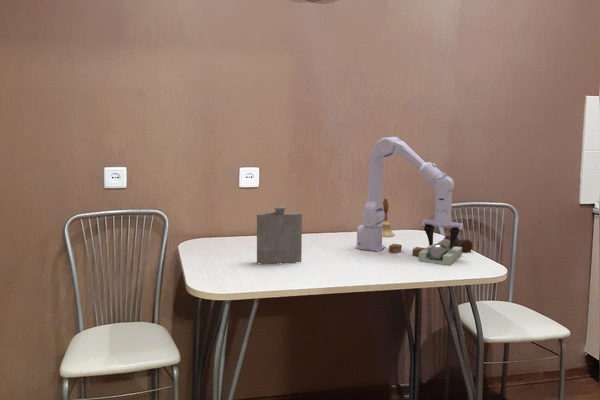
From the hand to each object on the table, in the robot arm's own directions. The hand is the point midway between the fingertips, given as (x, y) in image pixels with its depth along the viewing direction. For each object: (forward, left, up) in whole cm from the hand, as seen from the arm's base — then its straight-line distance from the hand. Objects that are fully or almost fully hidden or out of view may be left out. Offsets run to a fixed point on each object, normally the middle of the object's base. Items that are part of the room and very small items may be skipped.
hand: (441, 246), depth 209 cm
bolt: (+1, +19, -5) cm, 20 cm away
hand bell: (-32, +25, -5) cm, 41 cm away
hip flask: (-47, -37, -5) cm, 60 cm away
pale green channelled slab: (0, 0, -4) cm, 4 cm away
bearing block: (-13, 0, -4) cm, 14 cm away
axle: (0, -1, -1) cm, 1 cm away
